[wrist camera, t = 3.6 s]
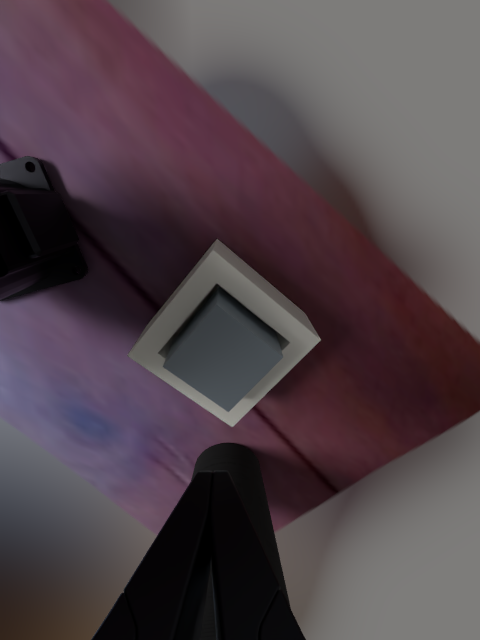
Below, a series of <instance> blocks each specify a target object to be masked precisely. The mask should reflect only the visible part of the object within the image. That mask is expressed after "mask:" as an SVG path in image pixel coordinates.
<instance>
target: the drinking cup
mask: <svg viewBox="0 0 480 640" xmlns="http://www.w3.org/2000/svg"><path fill="white" fill-rule="evenodd" d="M198 471H212V472H214V471H228V472H229V473H230V476H231V478H232V480H233V482H234V484H235V487H236V489H237V491H238V493H239V496H240V498H241V500H242V502H243V505H244V507H245V509H246V511H247V513H248V516H249V518H250V520H251V522H252V525H253V527H254V529H255V531H256V533H257V536H258V538H259V540H260V542H261V545H262V547H263V549H264V551H265V554H266V556H267V558H268V560H269V562H270V565H271V567H272V569H273V571H274V574H275V576H276V578H277V580H278V583H279V585H280V590H282V591H283V593H284V595H285V598H286V600H287V602H288V604H289V599H288V594H287V590H286V585H285V580H284V576H283V571H282V567H281V563H280V557H279V553H278V548H277V544H276V539H275V534H274V530H273V525H272V520H271V516H270V511H269V507H268V502H267V497H266V493H265V488H264V484H263V479H262V474H261V470H260V465H259V462H258V459H257V457H256V456H255V455H254V454H253V452H251V451H250V450H249V449H247V448H246V447H244V446H241V445H238V444H233V443H222V444H217V445H214V446H211V447H209V448H208V449H206V450H205V451H204V452H202V454H201V455H200V456H199V457H198V459H197V461H196V464H195V468H194V472H193V476H192V479H193V478H194V476H195V474H196V473H197V472H198ZM191 481H192V480H191ZM289 607H290V604H289ZM290 609H291V608H290ZM200 640H216V625H215V610H214V596H213V581H212V560H211V567H210V575H209V582H208V589H207V595H206V602H205V609H204V616H203V623H202V630H201V637H200Z"/></svg>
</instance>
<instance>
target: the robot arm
mask: <svg viewBox="0 0 480 640" xmlns="http://www.w3.org/2000/svg"><path fill="white" fill-rule="evenodd" d="M30 163H33V164H34V165H35V168H36V169H35V171H34V172H32V171H31V170H30V167H29V166H30ZM78 240H79V238H78V235H77V233H76V231H75V228H74V226H73V224H72V221H71V219H70V217H69V214H68V212H67V210H66V207H65V205H64V203H63V200H62V198H61V196H60V194H59V193H57V192H55V190H54V188H53V186H52V183H51V181H50V179H49V176H48V174H47V172H46V169H45V167H44V165H43V163H42V162H41V161H40V160H39V159H38V158H35V157H31V156H25V157H22V158H19V159H15V160H12V161H9V162H6V163H2V164H0V301H1V300H4V299H8V298H12V297H15V296H19V295H23V294H27V293H30V292H34V291H38V290H41V289H45V288H49V287H53V286H56V285H60V284H64V283H67V282H71V281H75V280H79V279H81V278H83V277H85V276H86V275H87V274H88V267H87V265H86V262H85V260H84V258H83V255H82V253H81V251H80V248H79V246H78V244H77V243H78ZM75 266H77V267H79V268H80V269H81V273H77V272H76V271H75ZM211 560H212V581H213V596H214V610H215V625H216V640H306V639H305V637H304V636H303V634H302V632H301V629H300V627H299V625H298V623H297V621H296V619H295V617H294V615H293V613H292V611H291V609H290V607H289V604H288V602H287V600H286V598H285V595H284V593H283V591H282V590H280V585H279V583H278V580H277V578H276V576H275V574H274V571H273V569H272V567H271V565H270V562H269V560H268V558H267V556H266V554H265V551H264V549H263V547H262V545H261V542H260V540H259V538H258V536H257V533H256V531H255V529H254V527H253V525H252V522H251V520H250V518H249V516H248V513H247V511H246V509H245V507H244V505H243V502H242V500H241V498H240V496H239V493H238V491H237V489H236V487H235V484H234V482H233V480H232V478H231V476H230V473H229V472H228V471H214V472H212V471H198V472H197V473H196V474H195V476H194V478H193V479H192V481H191V482H190V484H189V486H188V487H187V489H186V490H185V492H184V494H183V495H182V497H181V499H180V500H179V502H178V503H177V505H176V507H175V508H174V510H173V511H172V513H171V515H170V516H169V518H168V519H167V521H166V523H165V524H164V526H163V527H162V529H161V531H160V532H159V534H158V535H157V537H156V539H155V540H154V542H153V543H152V545H151V547H150V548H149V550H148V551H147V553H146V555H145V556H144V558H143V560H142V561H141V563H140V564H139V566H138V568H137V569H136V571H135V572H134V574H133V576H132V577H131V579H130V580H129V582H128V584H127V585H126V587H125V588H124V593H121V594H120V596H119V598H118V599H117V601H116V603H115V604H114V606H113V607H112V609H111V611H110V612H109V614H108V615H107V617H106V618H105V620H104V621H103V623H102V624H101V626H100V627H99V629H98V630H97V632H96V633H95V635H94V636H93V638H92V639H91V640H200V637H201V630H202V623H203V616H204V609H205V602H206V595H207V589H208V582H209V575H210V567H211Z"/></svg>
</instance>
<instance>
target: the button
mask: <svg viewBox="0 0 480 640" xmlns="http://www.w3.org/2000/svg"><path fill="white" fill-rule="evenodd" d="M282 358H283V354H282V351H281V347H280V344H279V341H278V337H277V334H276V332H275V331H274V330H273V329H272V328H270V327H269V326H268V325H267V324H265V323H264V322H263V321H262V320H260V319H259V318H258V317H257V316H255V315H254V314H253V313H252V312H251V311H249V310H248V309H247V308H246V307H244V306H243V305H242V304H241V303H239V302H238V301H237V300H236V299H234V298H233V297H232V296H231V295H229V294H228V293H227V292H226V291H224V290H223V289H222V288H221V287H218V288H217V289H216V291H215V292H214V293H213V294H212V295H211V297H210V298H209V299H208V300H207V301H206V302H205V304H204V305H203V306H202V307H201V308H200V309H199V311H198V312H197V313H196V314H195V315H194V317H193V318H192V319H191V320H190V321H189V322H188V324H187V325H186V326H185V327H184V328H183V329H182V331H181V332H180V333H179V334H178V335H177V336H176V338H175V339H174V340H173V342H172V345H171V347H170V350H169V352H168V355H167V357H166V360H165V362H164V365H163V367H164V368H165V369H166V370H168V371H169V372H171V373H172V374H174V375H175V376H177V377H178V378H180V379H181V380H182V381H184V382H185V383H187V384H188V385H190V386H191V387H193V388H194V389H195V390H197V391H198V392H200V393H201V394H203V395H204V396H206V397H207V398H208V399H210V400H211V401H213V402H214V403H216V404H217V405H219V406H220V407H221V408H223V409H224V410H226V411H227V412H229V411H230V410H231V409H232V408H233V407H234V406H235V405H236V404H237V403H238V402H239V401H240V400H241V399H242V398H243V397H244V396H245V395H246V394H247V393H248V392H249V391H250V390H251V389H252V388H253V387H254V386H255V385H256V384H257V383H258V382H259V381H260V380H261V379H262V378H263V377H264V376H265V375H266V374H267V373H268V372H269V371H270V370H271V369H272V368H273V367H274V366H275V365H276V364H277V363H278V362H279V361H280V360H281V359H282Z"/></svg>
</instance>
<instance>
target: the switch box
mask: <svg viewBox="0 0 480 640" xmlns="http://www.w3.org/2000/svg"><path fill="white" fill-rule="evenodd" d="M218 287H221V288H222V289H223V290H224V291H226V292H227V293H228V294H229V295H231V296H232V297H233V298H234V299H236V300H237V301H238V302H239V303H241V304H242V305H243V306H244V307H246V308H247V309H248V310H249V311H251V312H252V313H253V314H254V315H255V316H257V317H258V318H259V319H260V320H262V321H263V322H264V323H265V324H267V325H268V326H269V327H270V328H272V329H273V330H274V331H275V332H276V334H277V337H278V341H279V344H280V347H281V351H282V354H283V358H282V359H281V360H280V361H279V362H278V363H277V364H276V365H275V366H274V367H273V368H272V369H271V370H270V371H269V372H268V373H267V374H266V375H265V376H264V377H263V378H262V379H261V380H260V381H259V382H258V383H257V384H256V385H255V386H254V387H253V388H252V389H251V390H250V391H249V392H248V393H247V394H246V395H245V396H244V397H243V398H242V399H241V400H240V401H239V402H238V403H237V404H236V405H235V406H234V407H233V408H232V409H231V410H230V411H229V412H227V411H226V410H224V409H223V408H221V407H220V406H219V405H217V404H216V403H214V402H213V401H211V400H210V399H208V398H207V397H206V396H204V395H203V394H201V393H200V392H198V391H197V390H195V389H194V388H193V387H191V386H190V385H188V384H187V383H185V382H184V381H182V380H181V379H180V378H178V377H177V376H175V375H174V374H172V373H171V372H169V371H168V370H166V369H165V368H164V367H163V365H164V362H165V360H166V357H167V355H168V352H169V350H170V347H171V345H172V342H173V340H174V339H175V338H176V336H177V335H178V334H179V333H180V332H181V331H182V329H183V328H184V327H185V326H186V325H187V324H188V322H189V321H190V320H191V319H192V318H193V317H194V315H195V314H196V313H197V312H198V311H199V309H200V308H201V307H202V306H203V305H204V304H205V302H206V301H207V300H208V299H209V298H210V297H211V295H212V294H213V293H214V292H215V291H216V289H217V288H218ZM320 341H321V339H320V337H319V336H318V334H317V332H316V331H315V329H314V327H313V326H312V324H311V322H310V320H309V319H308V317H307V315H306V314H305V313H304V312H303V311H302V310H301V309H300V308H298V307H297V306H296V305H295V304H294V303H293V302H291V301H290V300H289V299H288V298H287V297H285V296H284V295H283V294H282V293H281V292H280V291H278V290H277V289H276V288H275V287H274V286H272V285H271V284H270V283H269V282H268V281H267V280H265V279H264V278H263V277H262V276H261V275H259V274H258V273H257V272H256V271H255V270H254V269H252V268H251V267H250V266H249V265H248V264H247V263H245V262H244V261H243V260H242V259H241V258H239V257H238V256H237V255H236V254H235V253H234V252H232V251H231V250H230V249H229V248H228V247H226V246H225V245H224V244H223V243H222V242H221V241H219V240H218V239H216V240H215V242H214V243H213V244H212V245H211V247H210V248H209V249H208V250H207V252H206V253H205V254H204V255H203V257H202V258H201V259H200V260H199V262H198V263H197V264H196V265H195V266H194V268H193V269H192V270H191V271H190V273H189V274H188V275H187V276H186V278H185V279H184V280H183V281H182V283H181V284H180V285H179V286H178V288H177V289H176V290H175V291H174V292H173V294H172V295H171V296H170V297H169V299H168V300H167V301H166V302H165V304H164V305H163V306H162V307H161V309H160V310H159V311H158V312H157V313H156V315H155V316H154V317H153V318H152V320H151V321H150V322H149V323H148V325H147V326H146V327H145V329H144V330H143V332H142V333H141V335H140V337H139V338H138V340H137V341H136V343H135V344H134V346H133V347H132V349H131V350H130V352H129V353H128V355H127V356H128V357H130V358H131V359H133V360H134V361H135V362H137V363H138V364H140V365H141V366H143V367H144V368H146V369H147V370H149V371H150V372H152V373H153V374H155V375H156V376H158V377H159V378H161V379H162V380H163V381H165V382H166V383H168V384H169V385H171V386H172V387H174V388H175V389H177V390H178V391H180V392H181V393H183V394H184V395H186V396H187V397H189V398H190V399H191V400H193V401H194V402H196V403H197V404H199V405H200V406H202V407H203V408H205V409H206V410H208V411H209V412H211V413H212V414H214V415H215V416H216V417H218V418H219V419H221V420H222V421H224V422H225V423H227V424H228V425H230V426H231V427H233V426H234V425H235V424H236V423H237V422H238V421H239V420H240V419H241V418H242V417H243V416H244V415H245V414H246V413H247V412H248V411H249V410H250V409H251V408H252V407H254V406H255V405H256V404H257V403H258V402H259V401H260V400H261V399H262V398H263V397H264V396H265V395H266V394H267V393H268V392H269V391H270V390H271V389H272V388H273V387H274V386H275V385H276V384H277V383H278V382H279V381H280V380H281V379H282V378H283V377H284V376H285V375H286V374H287V373H288V372H289V371H290V370H291V369H292V368H293V367H294V366H295V365H296V364H297V363H298V362H299V361H300V360H301V359H302V358H303V357H304V356H305V355H306V354H307V353H308V352H309V351H310V350H311V349H312V348H313V347H314V346H316V345H317V344H318V343H319V342H320Z"/></svg>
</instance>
